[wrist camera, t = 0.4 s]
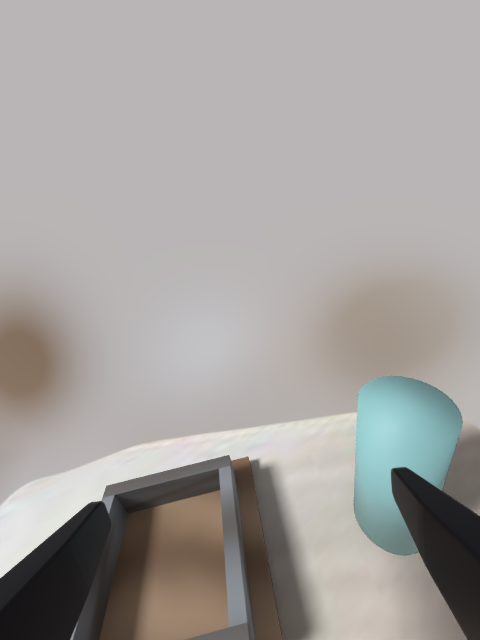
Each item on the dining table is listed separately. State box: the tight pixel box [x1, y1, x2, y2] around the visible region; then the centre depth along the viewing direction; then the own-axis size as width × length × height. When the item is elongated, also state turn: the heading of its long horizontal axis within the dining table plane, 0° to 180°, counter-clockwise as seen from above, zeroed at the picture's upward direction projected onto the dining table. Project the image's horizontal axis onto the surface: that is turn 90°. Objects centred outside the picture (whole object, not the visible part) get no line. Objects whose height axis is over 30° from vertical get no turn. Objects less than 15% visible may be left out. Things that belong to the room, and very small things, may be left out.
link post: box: [354, 376, 463, 555], centre depth 17 cm, size 5×5×12 cm
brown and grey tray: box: [70, 455, 282, 640], centre depth 19 cm, size 14×14×4 cm
